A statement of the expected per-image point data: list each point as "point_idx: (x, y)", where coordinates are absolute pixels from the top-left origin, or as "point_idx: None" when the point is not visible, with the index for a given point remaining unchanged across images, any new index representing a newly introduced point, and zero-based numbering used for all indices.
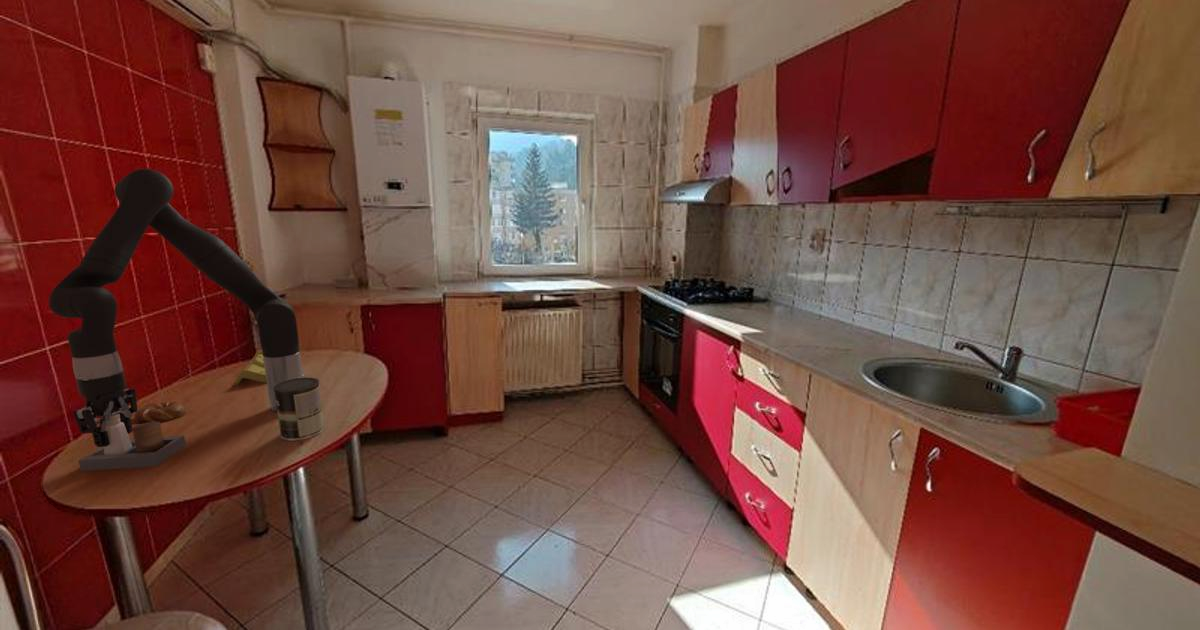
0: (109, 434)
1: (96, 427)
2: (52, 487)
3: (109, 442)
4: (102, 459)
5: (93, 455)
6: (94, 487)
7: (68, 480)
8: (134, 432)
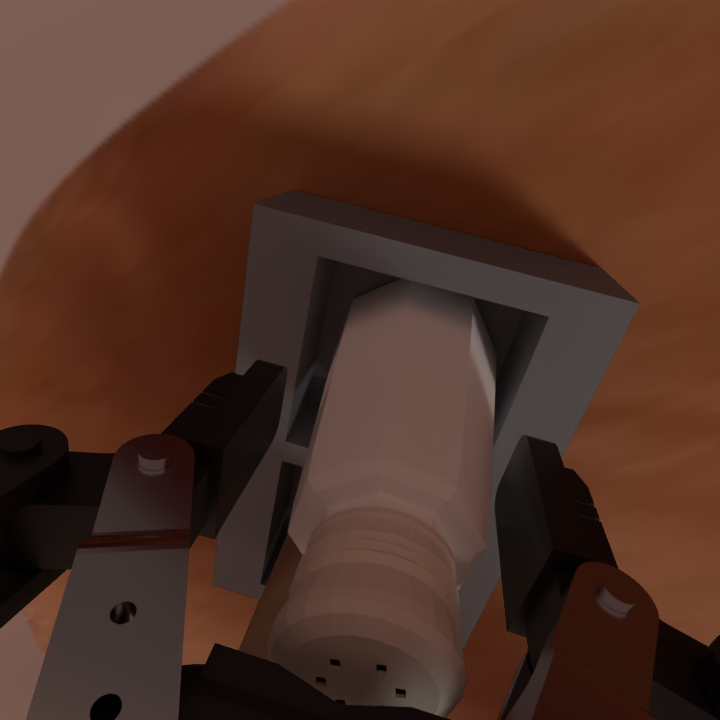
0: (300, 479)
1: (28, 587)
2: (152, 100)
3: (265, 449)
4: (238, 359)
5: (343, 261)
6: (120, 338)
7: (227, 148)
8: (245, 644)
